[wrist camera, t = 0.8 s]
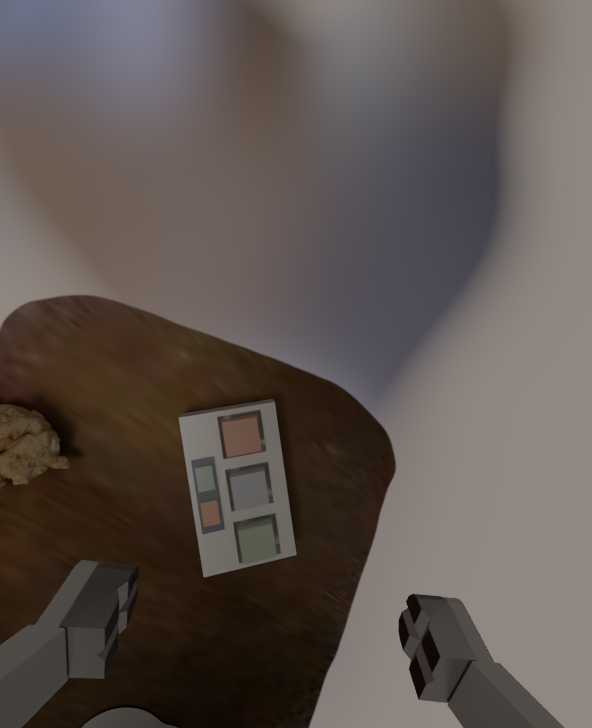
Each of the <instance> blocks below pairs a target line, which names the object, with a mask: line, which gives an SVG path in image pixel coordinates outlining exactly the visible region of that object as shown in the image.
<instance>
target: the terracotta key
mask: <svg viewBox="0 0 592 728" xmlns="http://www.w3.org/2000/svg"><path fill="white" fill-rule="evenodd" d="M222 428H223V435H224V441H225V448H226V455H227V457H230V456H236V455H241V454H247V453H252V452H257V451H262V450H261V443H260V436H259V429H258V422H257V416H256V415H250V416H244V417H238V418H232V419H226V420H223V421H222Z"/></svg>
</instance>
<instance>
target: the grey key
mask: <svg viewBox="0 0 592 728" xmlns="http://www.w3.org/2000/svg"><path fill="white" fill-rule="evenodd" d="M230 481H231V488H232V495H233V501H234V508H235V511H239V510H243V509H248V508H253V507H257V506H262V505H267V504H269V498H268V491H267V484H266V477H265V471H264V466H261V467H256V468H251V469H246V470H241V471H236V472H231V473H230Z"/></svg>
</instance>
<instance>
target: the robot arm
mask: <svg viewBox="0 0 592 728" xmlns="http://www.w3.org/2000/svg"><path fill="white" fill-rule="evenodd" d="M137 577H138V567H136V566H128V565H120V564H112V563H104V562H96V561H87V560H81V561H80V562H79V563H78V564H77V565H76V566H75V567H74V569H73V570H72V572H71V573H70V575H69V576H68V578H67V579H66V580H65V582H64V583H63V585H62V586H61V588H60V589H59V591H58V592H57V594H56V595H55V597H54V598H53V600H52V601H51V602H50V604H49V605H48V607H47V608H46V610H45V611H44V613H43V614H42V616H41V617H40V619H39V620H38V622H37V623H36V624H35V625H28V626H26V627H25V628H24V629H22V630H21V631H19V632H18V633H17V634H15V635H14V636H12V637H11V638H10V639H8V640H7V641H5V642H4V643H3V644H1V645H0V728H21V727H22V726H23V725H24V724H25V723H26V722H27V721H28V720H29V719H30V718H31V717H32V716H33V715H34V714H35V713H36V712H37V711H38V710H39V709H40V708H41V707H42V706H43V705H44V704H45V703H46V702H47V701H48V700H49V699H50V698H51V697H52V696H53V695H54V694H55V693H56V692H57V691H58V690H59V689H60V688H61V686H62V685H63V684H64V683H65V682H66V681H67V680H68V678H67V677H69V678H99V679H104V678H105V676H106V674H107V671H108V669H109V667H110V664H111V662H112V660H113V657H114V655H115V653H116V650H117V648H118V635H119V633H121V632H122V631H123V630H124V629H125V628H126V627H127V625H128V622H129V620H130V617H131V615H132V612H133V609H134V605H135V602H136V597H137V590H138V586H137V585H136V584H135V582H136V579H137ZM406 603H407V606H408V608H407V609H406V610H404V611H403V612H402V613H401V616H400V618H399V636H400V641H401V644H402V648H403V651H404V652H405V653H406V654H407V655H408V657H409V658H410V659H411V663H410V668H409V670H410V674H411V677H412V680H413V683H414V686H415V690H416V693H417V696H418V699H419V700H426V701H435V702H445V703H448V706H449V708H450V709H451V710H452V712H453V713H454V715H455V716H456V718H457V719H458V720H459V722H460V723H461V725H462V726H463V727H464V728H564V727H563V726H562V725H561V724H560V723H559V722H558V721H557V720H556V719H555V718H554V717H553V716H552V715H551V714H550V713H549V712H548V711H547V710H546V709H545V708H544V707H543V706H542V705H541V704H540V703H539V702H538V701H537V700H536V699H535V698H534V697H533V696H532V695H531V694H530V693H529V692H528V691H527V690H526V689H525V688H524V687H523V686H522V685H521V684H520V683H519V682H518V681H517V680H516V679H515V678H514V677H513V676H512V675H511V674H510V673H509V672H508V671H507V670H506V669H505V668H503V666H502V665H501V664H499V663H495V662H494V661H493V659H492V657H491V655H490V653H489V652H488V649H487V647H486V646H485V644H484V642H483V640H482V638H481V636H480V634H479V632H478V631H477V629H476V627H475V625H474V623H473V621H472V619H471V617H470V616H469V614H468V612H467V610H466V608H465V606H464V604H463V603H462V602H461V601H460V600H459V599H456V598H446V597H441V596H430V595H418V594H412V595H410V596H409V597H408V599H407V601H406ZM82 728H177V727H175V726H171V725H167V724H164V723H162V722H161V721H160V720H158V719H157V718H156V717H155V716H153V715H152V714H150V713H148V712H146V711H144V710H141V709H137V708H117V709H112V710H109V711H106V712H104V713H101V714H99V715H97V716H96V717H94V718H92V719H91V720H90V721H88V722H87V723H86V724H85V725H84V726H83V727H82Z"/></svg>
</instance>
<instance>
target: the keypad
mask: <svg viewBox="0 0 592 728" xmlns="http://www.w3.org/2000/svg"><path fill="white" fill-rule="evenodd" d="M250 415H256V416H257V422H258V429H259V436H260V443H261V450H262V451H257V452H252V453H247V454H241V455H236V456H230V457H227V455H226V448H225V441H224V435H223V428H222V421H223V420H226V419H232V418H238V417H244V416H250ZM179 423H180V429H181V436H182V442H183V448H184V455H185V461H186V468H187V474H188V480H189V487H190V493H191V500H192V506H193V512H194V519H195V525H196V532H197V538H198V544H199V551H200V557H201V564H202V570H203V576H204V577H208V576H212V575H216V574H220V573H224V572H228V571H233V570H237V569H241V568H245V567H249V566H253V565H257V564H261V563H265V562H269V561H274V560H278V559H282V558H286V557H290V556H294V555H296V548H295V541H294V534H293V527H292V520H291V513H290V506H289V499H288V492H287V485H286V478H285V471H284V464H283V456H282V449H281V442H280V435H279V428H278V421H277V414H276V407H275V402H274V400H273V399H269V400H263V401H257V402H250V403H244V404H238V405H232V406H226V407H220V408H213V409H207V410H201V411H195V412H189V413H183V414H182V415H181V416H180V417H179ZM261 466H264V471H265V477H266V484H267V491H268V498H269V504H267V505H262V506H257V507H253V508H248V509H243V510H239V511H235V508H234V501H233V495H232V488H231V481H230V473H231V472H236V471H241V470H246V469H251V468H256V467H261ZM268 517H271V519H272V526H273V533H274V540H275V546H276V553H277V556H276V557H272V558H268V559H264V560H260V561H256V562H252V563H247V564H243V561H242V554H241V548H240V541H239V535H238V524H241V523H245V522H250V521H254V520H259V519H263V518H268Z"/></svg>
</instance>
